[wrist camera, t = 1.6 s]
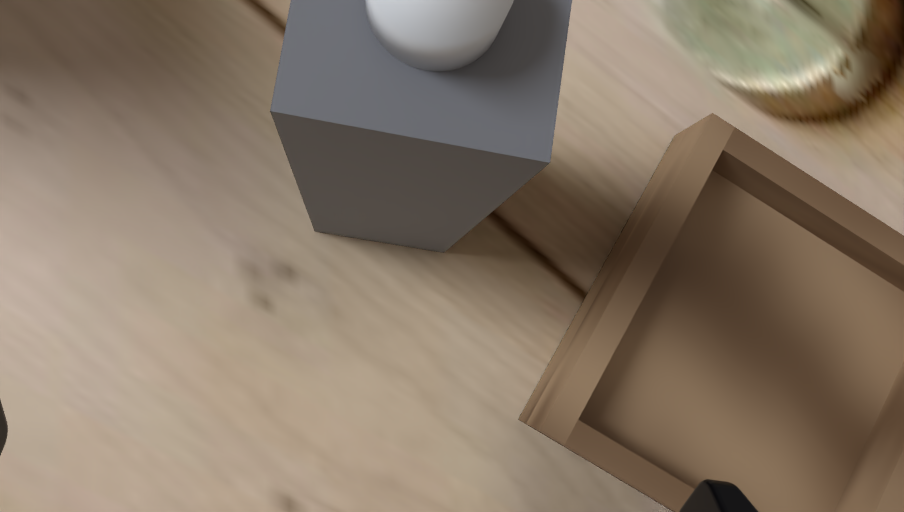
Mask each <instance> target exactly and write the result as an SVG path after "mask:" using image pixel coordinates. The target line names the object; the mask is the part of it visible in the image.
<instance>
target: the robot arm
mask: <svg viewBox="0 0 904 512" xmlns="http://www.w3.org/2000/svg"><path fill="white" fill-rule="evenodd" d="M7 433H8V426H7V421H6V417H5V414H4V411H3V407H2V404H1V400H0V455H1V453H2V450H3V448H4V445H5V442H6V439H7ZM679 512H758V511H757V509H756V508H755V507H754V506H753V504H752V503H751V502H750V501H749V500H748V498H747V497H746V496H745V495H744V493H743V492H742V491H741V490H740V489H739V488H738V487H737V486H736V485H734V484H733V483H730V482H726V481H718V480H711V479H705V480H703V481H701V482H700V483H699V484H698V486H697V487H696V488H695V490H694V491H693V492H692V494H691V495H690V497H689V498H688V499H687V501H686V502H685V503H684V505H683V506H682V507H681V509H680V511H679Z"/></svg>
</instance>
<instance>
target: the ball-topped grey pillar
mask: <svg viewBox="0 0 904 512" xmlns="http://www.w3.org/2000/svg"><path fill="white" fill-rule="evenodd" d="M571 3H572V0H291V3H290V8H289V14H288V19H287V24H286V30H285V35H284V40H283V46H282V51H281V56H280V62H279V67H278V72H277V78H276V83H275V88H274V94H273V99H272V104H271V110H270V112H271V114H272V117H273V120H274V122H275V125H276V128H277V131H278V133H279V136H280V139H281V141H282V144H283V147H284V150H285V152H286V155H287V158H288V160H289V163H290V166H291V169H292V171H293V174H294V177H295V179H296V182H297V185H298V187H299V190H300V193H301V196H302V198H303V201H304V204H305V206H306V209H307V212H308V215H309V217H310V220H311V223H312V225H313V228H314V231H317V232H323V233H329V234H335V235H341V236H347V237H353V238H359V239H365V240H371V241H377V242H383V243H389V244H395V245H401V246H407V247H413V248H419V249H425V250H431V251H437V252H443V253H444V252H445V251H446V250H448V249H449V248H450V247H451V246H452V245H453V244H455V243H456V242H457V241H458V240H459V239H461V238H462V237H463V236H464V235H465V234H466V233H468V232H469V231H470V230H471V229H472V228H474V227H475V226H476V225H477V224H478V223H479V222H481V221H482V220H483V219H484V218H485V217H487V216H488V215H489V214H490V213H491V212H492V211H494V210H495V209H496V208H497V207H498V206H500V205H501V204H502V203H503V202H504V201H505V200H507V199H508V198H509V197H510V196H511V195H513V194H514V193H515V192H516V191H517V190H518V189H520V188H521V187H522V186H523V185H524V184H526V183H527V182H528V181H529V180H530V179H531V178H533V177H534V176H535V175H536V174H537V173H539V172H540V171H541V170H542V169H543V168H544V167H546V166H547V165H548V164H549V163H550V159H551V152H552V144H553V137H554V129H555V122H556V115H557V107H558V100H559V92H560V85H561V78H562V70H563V63H564V55H565V48H566V41H567V33H568V26H569V18H570V11H571Z"/></svg>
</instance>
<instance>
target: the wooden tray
mask: <svg viewBox="0 0 904 512" xmlns="http://www.w3.org/2000/svg"><path fill="white" fill-rule="evenodd" d="M518 420H520V421H522V422H523V423H525V424H527V425H528V426H530V427H532V428H534V429H535V430H537V431H539V432H540V433H542V434H544V435H545V436H547V437H549V438H550V439H552V440H554V441H555V442H557V443H559V444H560V445H562V446H564V447H566V448H567V449H569V450H571V451H572V452H574V453H576V454H577V455H579V456H581V457H582V458H584V459H586V460H587V461H589V462H591V463H592V464H594V465H596V466H597V467H599V468H601V469H603V470H604V471H606V472H608V473H609V474H611V475H613V476H614V477H616V478H618V479H619V480H621V481H623V482H624V483H626V484H628V485H629V486H631V487H633V488H635V489H636V490H638V491H640V492H641V493H643V494H645V495H646V496H648V497H650V498H651V499H653V500H655V501H656V502H658V503H660V504H661V505H663V506H665V507H667V508H668V509H670V510H672V511H673V512H679V511H680V509H681V507H682V506H683V505H684V503H685V502H686V501H687V499H688V498H689V497H690V495H691V494H692V492H693V491H694V490H695V488H696V487H697V486H698V484H699V483H700V482H701V481H703V480H705V479H711V480H718V481H726V482H730V483H733V484H734V485H736V486H737V487H738V488H739V489H740V490H741V491H742V492H743V493H744V495H745V496H746V497H747V498H748V500H749V501H750V502H751V503H752V504H753V506H754V507H755V508H756V509H757V511H758V512H904V236H903V235H902V234H900V233H899V232H897V231H895V230H894V229H892V228H891V227H889V226H888V225H886V224H885V223H883V222H881V221H880V220H878V219H877V218H875V217H874V216H872V215H871V214H869V213H867V212H866V211H864V210H863V209H861V208H860V207H858V206H857V205H855V204H853V203H852V202H850V201H849V200H847V199H846V198H844V197H843V196H841V195H839V194H838V193H836V192H835V191H833V190H832V189H830V188H829V187H827V186H825V185H824V184H822V183H821V182H819V181H818V180H816V179H815V178H813V177H811V176H810V175H808V174H807V173H805V172H804V171H802V170H801V169H799V168H797V167H796V166H794V165H793V164H791V163H790V162H788V161H787V160H785V159H783V158H782V157H780V156H779V155H777V154H776V153H774V152H773V151H771V150H769V149H768V148H766V147H765V146H763V145H762V144H760V143H759V142H757V141H755V140H754V139H752V138H751V137H749V136H748V135H746V134H745V133H743V132H741V131H740V130H738V129H737V128H735V127H734V126H732V125H731V124H729V123H727V122H726V121H724V120H723V119H721V118H720V117H718V116H717V115H715V114H713V113H712V114H710V115H708V116H707V117H705V118H703V119H702V120H700V121H698V122H697V123H695V124H693V125H692V126H690V127H688V128H687V129H685V130H683V131H682V132H680V133H678V134H677V135H675V136H674V138H673V140H672V142H671V143H670V145H669V147H668V149H667V151H666V153H665V154H664V156H663V158H662V160H661V162H660V163H659V165H658V167H657V169H656V171H655V172H654V174H653V176H652V178H651V180H650V182H649V183H648V185H647V187H646V189H645V191H644V192H643V194H642V196H641V198H640V200H639V201H638V203H637V205H636V207H635V209H634V211H633V212H632V214H631V216H630V218H629V220H628V221H627V223H626V225H625V227H624V229H623V230H622V232H621V234H620V236H619V238H618V240H617V241H616V243H615V245H614V247H613V249H612V250H611V252H610V254H609V256H608V258H607V259H606V261H605V263H604V265H603V267H602V269H601V270H600V272H599V274H598V276H597V278H596V279H595V281H594V283H593V285H592V287H591V288H590V290H589V292H588V294H587V296H586V298H585V299H584V301H583V303H582V305H581V307H580V308H579V310H578V312H577V314H576V316H575V317H574V319H573V321H572V323H571V325H570V327H569V328H568V330H567V332H566V334H565V336H564V337H563V339H562V341H561V343H560V345H559V346H558V348H557V350H556V352H555V354H554V356H553V357H552V359H551V361H550V363H549V365H548V366H547V368H546V370H545V372H544V374H543V375H542V377H541V379H540V381H539V383H538V385H537V386H536V388H535V390H534V392H533V394H532V395H531V397H530V399H529V401H528V403H527V404H526V406H525V408H524V410H523V412H522V414H521V415H520V417H519V419H518Z"/></svg>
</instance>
